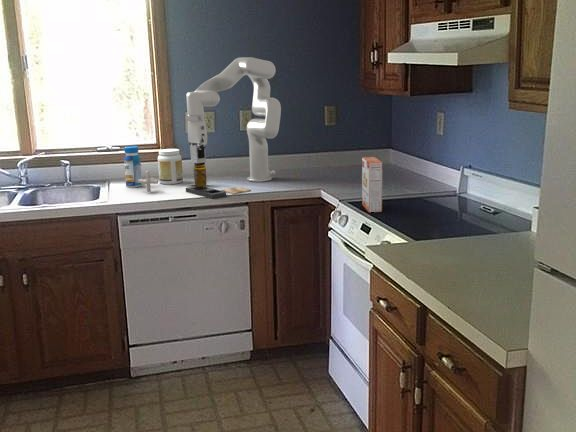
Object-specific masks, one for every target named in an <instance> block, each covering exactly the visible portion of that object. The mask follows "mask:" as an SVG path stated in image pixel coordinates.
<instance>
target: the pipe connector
mask: <svg viewBox="0 0 576 432" xmlns="http://www.w3.org/2000/svg"><path fill="white" fill-rule="evenodd" d="M150 175H151V174H150V171H149V170H145V179H139V180H138V183H141V184H142V186H144V185H146V192H147V193H150V192H151V191H152V190H151V189H152V188H151V185H152V184H154V185H155V184H158V183H159V179H158V180H157V179H156V178H155V177H151V176H150ZM150 177H151V178H150Z"/></svg>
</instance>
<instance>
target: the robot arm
mask: <svg viewBox="0 0 576 432" xmlns="http://www.w3.org/2000/svg"><path fill="white" fill-rule="evenodd" d="M276 71H277V70H276V66H275V64H274V63H273V62H272V61H269V60H265V59H262V58H261V59H260V58H256V57H248V56H247V57H237V58H235V59H234V60H233V61H232V62H230V64H228V65H227V66H226V67H225V68H224V69H223V70H222V71H221V72H220V73H218V74H217V75H215V76H213V77H212V78H210V79H208V80H206V81H204V82H202V83H201V84H200V85H199V86H198V87H197V88H196V89H195V90H194V91H190V92H189V91H188V92H187V93H186V95H185V96H186V109H187V110H186V111H187V143H188V144H189V146H190V145H196V144H198V147H199V150H198V157H199V159H201V158H205V155H206V147H207V145H208V132H207V125H206V121H205V112H204V110H205V109H204V107H208V108H209V107H210V108H211V107H216V106H217V105H218V104H219V103H220V101H221V98H220V94H219V92H222V91H226V90H228V89H231V88H233V87H234V85H236V84H237V83H238V82H239V81H240V80H241V79H242V78H243V77H244V76H248V78H249V79H250V80H251V82H252V86H253V94H252V104H251V112H252V114H253V115H255V116H258V117H265V118H252V119H250V120H249V121H248V122H247V124H246V133H247V134H246V135H247V138H248V147H249V173H250V174H249V176H248V177H247V181H248V182H256V183H259V182H260V183H261V182H262V183H263V182H270V181H272V179H273V177H272V175H276V170H269V147H268V145H269V144H268V141H267V139H274V138H276V137H277V136H278V133H279V131H280V130H279V129H280V122H281V116H282V115H281V113H282V107H281V106H282V105H281V103H280V101H279V100H278V99H277V98H275V97H271V85H270V82H269V80H270V79H272V78H273V77H274V76H275V75H276ZM268 79H269V80H268ZM200 145H201V146H200ZM204 150H205V151H204Z"/></svg>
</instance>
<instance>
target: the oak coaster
mask: <svg viewBox="0 0 576 432" xmlns="http://www.w3.org/2000/svg"><path fill="white" fill-rule="evenodd" d="M220 190H221V191H225V192H226V194H231V195H235V194H236V195H237V194H242V193H247V192H252V191H251V190H252V189H249V188H244V187H239V186H236V187H231V188H225V189H220Z"/></svg>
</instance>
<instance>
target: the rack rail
mask: <svg viewBox="0 0 576 432" xmlns="http://www.w3.org/2000/svg"><path fill="white" fill-rule="evenodd" d="M221 190H222V189H216V188H211V187H209V186H205V187H204V186H194V187H190V186H188V187H185V193H188V194H192V195H197V196H199V197H203V198H208V199H219V198H224V197H227V192H225V191H221Z"/></svg>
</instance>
